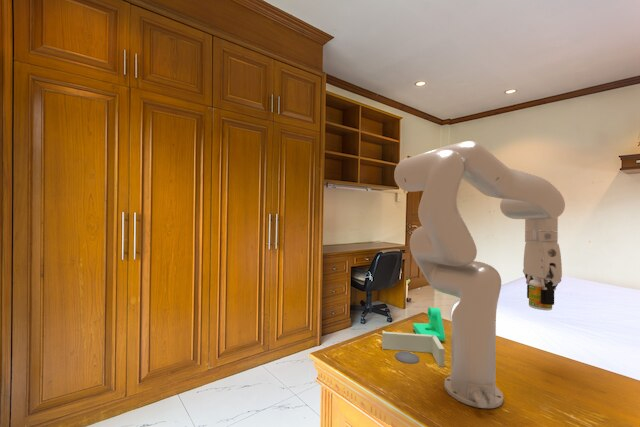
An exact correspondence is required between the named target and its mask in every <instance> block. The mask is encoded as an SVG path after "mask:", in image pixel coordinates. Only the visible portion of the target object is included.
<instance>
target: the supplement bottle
mask: <svg viewBox="0 0 640 427" xmlns="http://www.w3.org/2000/svg"><path fill="white" fill-rule="evenodd" d="M532 278H533V280H531V281H530V282H529V284H528V285H529V298H528V306H529V307H530V308H532V309H535V310H541V311H551V310H553V305H545V304H541V289H543V288H542V283H541V278H537V277H535V276H532ZM546 278H549V276H547V277H546ZM548 282H549V281H546V284H547V283H548Z"/></svg>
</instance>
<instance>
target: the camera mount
mask: <svg viewBox="0 0 640 427" xmlns="http://www.w3.org/2000/svg"><path fill="white" fill-rule="evenodd" d="M427 319H428V320H429V321H428V323H424V322H423V323H422V322H421V323H419V322H417V323H416V322H413V323H412V327H413V328H412V329H413V330H414V334H415V333H416V334H425V335H435V336H437V338H438V339H439V341H446V334H445V329H444V328H445V327H444V324H443V318H442V312H441V308H439V307H427Z"/></svg>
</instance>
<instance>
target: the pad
mask: <svg viewBox="0 0 640 427" xmlns="http://www.w3.org/2000/svg"><path fill="white" fill-rule="evenodd" d="M394 358H395V359H396V360H397V361H399V362H401V363H404V364H411V365H412V364H417V363H419V362H420V357H419V355H417V354H415V353H412V352H411V351H398V352H396V353H395V354H394Z"/></svg>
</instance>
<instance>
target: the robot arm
mask: <svg viewBox="0 0 640 427" xmlns="http://www.w3.org/2000/svg"><path fill="white" fill-rule="evenodd" d="M393 173H394V174H393V175H394V176H393V177H394V181H395V183H396V186H397V187H399V189H401V190H402V191H404V192H410V193H413V192H422V194H421V195H422V196H421V199H420V202H419V204H418V209H417V210H418V211H417V214H418V216H417V217H418V220H419V222H420V224H421V226H420V225H419V227H416V228H415V229H414V230H413V232H412V233H411V235H410V239H409V248H410V252H411V253H410V254H411V256H412V258H413V260H414V261H415V263H416V265H417V266H418V268H419V270H420V271H421V273H422V275H423V277H424V278H425V279H426V282H427V283H428V284H429V285H430V286H431V288H432V289H434V290H435V291H437V292H439V293H442V294H446V295H449V296H453V297H456V298H459V299H460V300H459V302H458V303H457V305H456V306H455V307H454V309H453V311H452V314H451V338H450V339H451V342H450V344H451V350H450V351H451V352H450V353H451V355H450V356H451V358H450V359H451V360H450V363H451V364H450V365H451V366H450V368H451V369H450V374H451V375H449V376H447V377H446V378H445V379H444V381H443V386H444V390H445V391H446V393H447V394H448V395H449V396H450V397H452V398H453V399H455V400H456V401H457V402H460V403H462V404H465V405H468V406H469V407H474V408H479V409H494V408H495V409H496V408H498V407H501V406H502V404H503V402H504V394H503V392H502V390H500V388H499V387H497V386H496V375H497V374H496V365H497V364H496V363H497V360H496V359H497V358H496V356H497V354H496V353H497V352H496V351H497V350H496V349H497V348H496V342H497V336H496V335H497V330H496V328H497V308H498V304H499V303H498V302H499V298H500V293H501V289H502V278H501V275H500V273H499V271H498V269H496V268H495V267H494V266H492V265H491V264H487V263H485V262H480V261H477V260H476V257H477V253H478V252H477V251H478V250H477V245H476V243H475V240H474V238H473V236H472V235H471V233H470V230H469V228H468V226H467V225H466V223H465V221H464V218H463V217H462V215H461V212H460V211H459V208H458V205H457V202H458V201H457V197H458V192H459V188H460V185H461V182H462V180H464V181H465V182H466V183H468V184H469V185H470V186H472V187H473V188H475V189H476V190H478V192H480V193H481V195H482V194H483V195H484V196H487V197H491V198H496V199H501V200H500V204H499V206H500V207H499V209H500V211H501V213H502V215H504V216H505V217H507V218H509V219H512V220H524V251H523V252H524V253H523V264H522V265H523V269H522V273H523V274H524V278H525V280H526V281H525V283H526V285H527V287H526V298H527V299H529V282H530V281H531V280H533V278H532V276H535V277H537V278H541V283H542V288H543V289H541V304H545V305H552V306H553V305H555V291H556V290H557V287H558V285H559V284H560V283H561V282H562V278H563V277H562V276H563V267H562V265H563V263H562V254H561V248H560V245H559V242H558V239H559V234H558V232H559V230H558V228H559V227H558V225H559V222H558V221H559V217H560V216H562V214H563V213H564V211H565V209H566V208H565V207H566V203H565V199H564V197H563V195H562V193H561V192H560V190H559V189H558V188H557V187H556V186H555V185H554V184H552V182H550V181H549V180H547V179H545V178H543V177H540V176H539V175H535V174H531V173H528V172H525V171H522V170H518V169H513V168H510V167H508V166H507V165H506V164H504V163H503V162H502V161H501V160H500V159H499V158H497V157H496V156H495V155H494V154H493V153H492V152H491V151H489V150H488V148H486V147H485V146H483V145H482V144H481V143H479V142H478V141H475V140H464V141H461V142H457V143H453V144H450V145H446V146H441V147H438V148H435V149H433V150H429V151H426V152H423V153H420V154H417V155H414V156H409V157H406V158H403V159H402V160H400V161H399V162H398V164H397V165H396V166H395V169H394V172H393ZM547 276H549V278H546V277H547ZM546 281H549V282H548V283H547V284H546Z"/></svg>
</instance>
